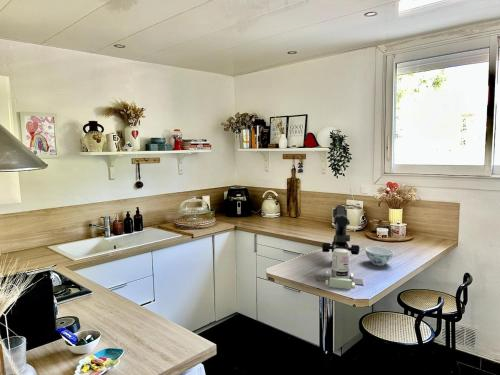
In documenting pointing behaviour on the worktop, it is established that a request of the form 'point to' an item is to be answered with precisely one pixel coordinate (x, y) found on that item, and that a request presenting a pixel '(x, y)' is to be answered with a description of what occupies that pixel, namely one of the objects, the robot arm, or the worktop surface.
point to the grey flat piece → (340, 281)
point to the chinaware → (379, 255)
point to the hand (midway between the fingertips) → (340, 263)
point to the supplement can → (340, 263)
